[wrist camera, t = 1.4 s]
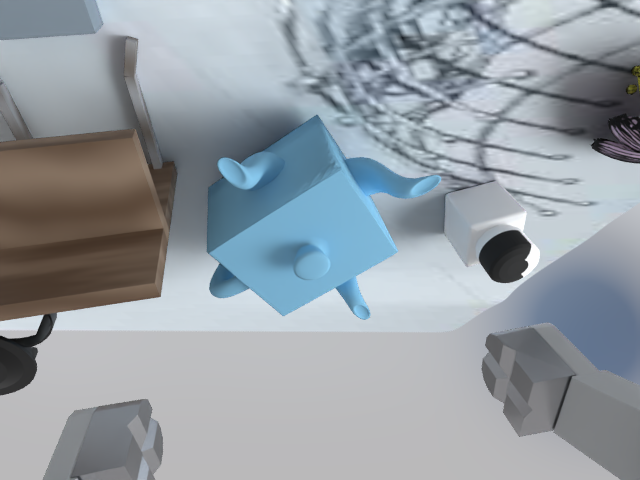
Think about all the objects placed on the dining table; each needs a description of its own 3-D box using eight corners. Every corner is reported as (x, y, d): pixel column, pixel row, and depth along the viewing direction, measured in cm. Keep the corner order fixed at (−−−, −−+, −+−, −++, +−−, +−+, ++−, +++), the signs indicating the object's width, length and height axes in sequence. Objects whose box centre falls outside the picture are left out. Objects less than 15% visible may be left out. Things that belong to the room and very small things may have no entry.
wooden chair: (-40, 48, 34) (-211, 152, 20) (138, 35, 36) (90, 124, 22) (38, 189, 43) (-45, 327, 29) (177, 173, 44) (160, 296, 31)
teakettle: (203, 237, 51) (200, 334, 40) (215, 85, 39) (215, 162, 28) (348, 245, 56) (380, 332, 45) (394, 114, 45) (452, 187, 34)
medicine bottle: (443, 233, 58) (485, 296, 49) (444, 193, 53) (491, 254, 44) (491, 221, 58) (542, 281, 49) (497, 179, 54) (554, 237, 45)
